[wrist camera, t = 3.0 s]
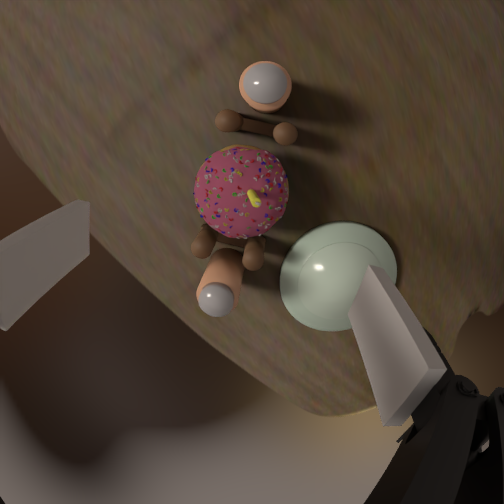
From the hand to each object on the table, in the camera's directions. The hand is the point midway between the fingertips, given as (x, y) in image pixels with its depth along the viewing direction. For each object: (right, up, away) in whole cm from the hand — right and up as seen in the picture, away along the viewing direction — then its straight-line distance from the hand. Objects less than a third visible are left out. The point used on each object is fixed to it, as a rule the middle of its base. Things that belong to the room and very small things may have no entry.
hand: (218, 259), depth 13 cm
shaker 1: (-1, -1, +21) cm, 21 cm away
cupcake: (+1, +7, +18) cm, 19 cm away
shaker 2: (+3, +16, +14) cm, 21 cm away
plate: (+12, -3, +21) cm, 24 cm away
